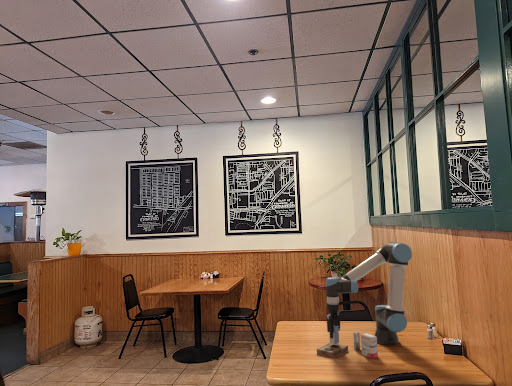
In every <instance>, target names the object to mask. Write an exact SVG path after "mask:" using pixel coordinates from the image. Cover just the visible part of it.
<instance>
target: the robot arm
mask: <svg viewBox="0 0 512 386" xmlns="http://www.w3.org/2000/svg"><path fill="white" fill-rule="evenodd" d="M412 256H413V252H412V248H411V247H410V246H409V245H407V244H406V243H403V242H395V241H391V242H388V243H386V244H385V245H383V246H381V247H380V248H379V249H377V250H376V251H375V253H374V254H373V255H371V256H370V257H368V258H367V259H365V260H364V261H362V262H361V263H360V264H358V265H357V266H355V267H354V268H352V269H351V270H350V271H348V272H347V273H346V274H344V275H342V276H339V277H335V276H333V277H327V278H325V289H326V290H325V292H326V310H328V315H326V316H325V317H326V318H325V319H326V329H327V333H329V343H332V344H335V336H334V325H336V326H338V328H339V331H341V312H340V311H339V310H340V304H339V303H340V297H339V295H340V294H353V293H354V294H355V293H356V294H357V293H358V291H359V284H358V281H359V280H360V279H362V278H363V277H365V276H366V275H368V274H369V273H370V272H372V271H374V270H375V269H377V268H378V267H379V266H381V265H382V264H389V267H390V268H389V269H390V270H389V271H390V272H389V284H388V296H387V298H388V299H387V304H380V305H375V307H374V313H375V326H376V329H375V333H374V336H376V337H377V344H378V345H385V346H392V345H393V346H394V345H398V344H399V343H400V341H399V340H400V339H399V336H398V334H397V333H401V332H403V331H405V330H406V328H407V326H408V320H407V318H406V316H405V314H406V310H405V308H404V307H403V303H404V301H403V300H404V291H405V290H404V289H405V278H406V277H405V276H406V268H407V267H408V266H409V261H410V260H411V259H412Z"/></svg>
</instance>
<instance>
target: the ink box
mask: <svg viewBox="0 0 512 386" xmlns="http://www.w3.org/2000/svg"><path fill="white" fill-rule="evenodd" d="M360 339H361V340H360V345H361V355H363V357H366V358H370V359H372V360H373V359H376V358H378V357H379V354H378V343H377V337H376V336H375V335H373V334H370V333H361V334H360Z"/></svg>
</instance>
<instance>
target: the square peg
mask: <svg viewBox="0 0 512 386" xmlns="http://www.w3.org/2000/svg"><path fill="white" fill-rule="evenodd" d="M334 336H335V344H340V333H339V328H338V326H336V325H334Z"/></svg>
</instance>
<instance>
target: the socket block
mask: <svg viewBox="0 0 512 386" xmlns="http://www.w3.org/2000/svg"><path fill="white" fill-rule="evenodd" d="M348 351H349V346H348V345H346V344H340V343H338V344H332V343H330V342H329V343H326V344H325V345H323V346H320V347H318V348H316V355H318V356H323V357H327V358H330V359H331V358H332V359H337V358H339V357H340V356H342V355H344V354H346V353H348Z"/></svg>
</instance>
